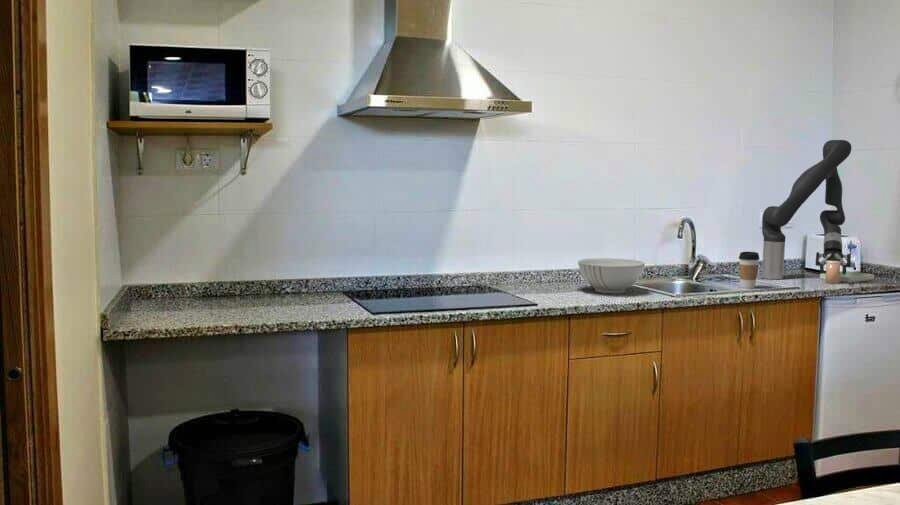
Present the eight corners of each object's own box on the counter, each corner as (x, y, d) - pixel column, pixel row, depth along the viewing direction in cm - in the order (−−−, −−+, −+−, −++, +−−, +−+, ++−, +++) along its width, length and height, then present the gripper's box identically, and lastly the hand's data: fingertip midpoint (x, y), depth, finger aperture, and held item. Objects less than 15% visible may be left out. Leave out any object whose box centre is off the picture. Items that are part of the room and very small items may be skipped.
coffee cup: (759, 287, 333) (761, 252, 331) (755, 289, 326) (757, 254, 324) (739, 285, 338) (741, 251, 336) (735, 287, 330) (736, 252, 329)
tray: (848, 283, 347) (849, 277, 347) (819, 279, 359) (820, 273, 359) (873, 279, 358) (874, 274, 357) (844, 276, 369) (845, 270, 369)
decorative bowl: (578, 295, 308) (578, 265, 306) (576, 285, 334) (577, 257, 333) (647, 297, 304) (648, 266, 303) (640, 287, 330) (641, 258, 329)
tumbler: (825, 283, 345) (826, 261, 344) (824, 282, 350) (826, 259, 349) (839, 284, 343) (840, 261, 342) (838, 282, 348) (839, 260, 347)
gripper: (816, 238, 354) (816, 266, 344) (851, 240, 348) (852, 268, 339) (814, 249, 359) (814, 276, 350) (849, 250, 354) (850, 278, 345)
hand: (833, 272), depth 345 cm, fingers open, 8 cm apart
